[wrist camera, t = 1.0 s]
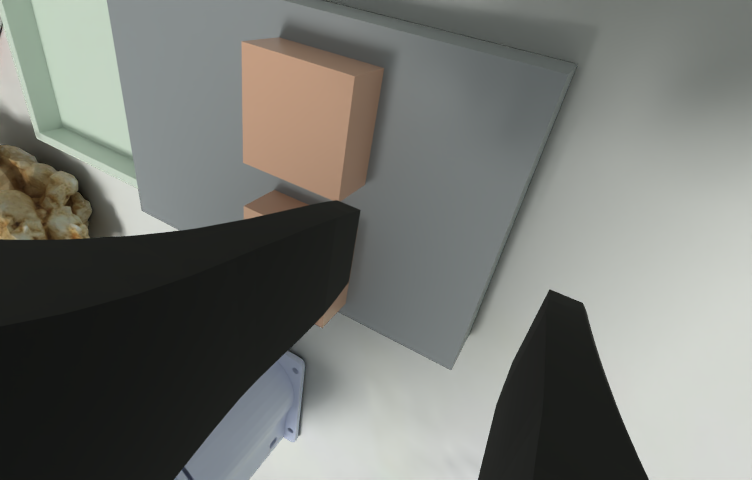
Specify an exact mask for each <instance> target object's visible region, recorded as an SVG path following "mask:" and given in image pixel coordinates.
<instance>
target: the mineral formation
mask: <svg viewBox="0 0 752 480" xmlns="http://www.w3.org/2000/svg"><path fill="white" fill-rule="evenodd" d="M77 191H78V181H77V179H76V178H75V177H74V176H73V175H71V174H69V173H66V172H63V171H56V170H55V169H54V168H53V167H51V166H49V165H47V164H42V163H38V162H37V160H36V158H35V156H33V155H31V154H29V153H27V152H26V151H24V150H22V149H20V148H18V147H15V146H9V145H0V239H9V240H59V239H83V238H90V237H89V235H88V225H89V222H88V221H87V220H88V218H89V217H90V215H91V213H92V209H91V205H90V202H89V201H86V200H85V199H84V198H83V197H82V196H81V194H80V193H78V192H77Z"/></svg>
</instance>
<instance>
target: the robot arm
mask: <svg viewBox="0 0 752 480" xmlns="http://www.w3.org/2000/svg"><path fill="white" fill-rule="evenodd" d="M360 211H361V210H359V209H357V208H355V207H352V206H350V205H347V204H345V203H343V202H340V201H338V200H335V201H327V202H322V203H317V204H312V205H307V206H303V207H298V208H294V209H289V210H285V211H281V212H276V213H272V214H267V215H263V216H258V217H254V218H249V219H244V220H238V221H233V222H228V223H222V224H217V225H211V226H206V227H201V228H194V229H188V230H181V231H173V232H165V233H155V234H146V235H136V236H123V237H103V238H83V239H59V240H9V239H0V480H249V479H250V478H251V477H252V475H253V474H254V473H255V472H256V470H257V469H258V468H259V467H260V465H261V464H262V463H263V462H264V460H265V459H266V458H267V457H268V456H269V454H270V453H271V452H272V451H273V449H274V448H275V447H276V446H277V444H278V443H279V442H280V441H281V439H282V438H283V437H284V438H286V439H287V440H289V441H291V442H295V441H296V439H297V438H298V429H299V420H300V410H301V401H302V391H303V382H304V372H305V363H304V361H303V360H302V359H301V358H300V357H298V356H296V355H294V354H293V353H291V352H289V351H288V350H289V349H290V348H291V347H292V346H293V345H294V344H295V343H296V342H297V341H298V340H299V339H300V338H301V337H302V336H303V335H304V334H305V333H306V332H307V331H308V330H309V329H310V328H311V327H312V326H313V325H314V324H315V323H316V322H317V321H318V320H319V319H320V318H321V317H322V316H323V315H324V314H325V313H326V311H327V310H328V309H329V308H330V306H331V305H332V304H333V303H334V301H335V300H336V299H337V297H338V296H339V295H340V293H341V292H342V291H343V289H344V288H345V287H346V285H347V284H348V283H349V278H350V272H351V266H352V260H353V254H354V248H355V241H356V235H357V229H358V223H359V217H360ZM478 480H649V479H648V477H647V475H646V473H645V470H644V468H643V466H642V464H641V462H640V460H639V458H638V455H637V453H636V451H635V448H634V446H633V444H632V441H631V439H630V437H629V435H628V432H627V430H626V428H625V425H624V423H623V420H622V418H621V415H620V413H619V410H618V408H617V405H616V403H615V400H614V397H613V394H612V392H611V389H610V386H609V383H608V381H607V378H606V375H605V372H604V369H603V366H602V364H601V361H600V357H599V354H598V351H597V348H596V345H595V341H594V338H593V334H592V331H591V327H590V324H589V320H588V316H587V312H586V309H585V307H584V305H583V303H581V302H579V301H576V300H574V299H571V298H569V297H567V296H564V295H562V294H560V293H557V292H555V291H552V290H549V292H548V294H547V296H546V297H545V299H544V301H543V303H542V305H541V307H540V309H539V311H538V313H537V315H536V317H535V319H534V321H533V323H532V325H531V327H530V329H529V331H528V333H527V335H526V337H525V339H524V341H523V343H522V345H521V346H520V348H519V350H518V352H517V354H516V356H515V358H514V360H513V362H512V365H511V368H510V370H509V373H508V375H507V378H506V381H505V383H504V386H503V389H502V391H501V394H500V397H499V399H498V402H497V405H496V409H495V413H494V417H493V421H492V425H491V429H490V433H489V437H488V441H487V445H486V449H485V453H484V457H483V461H482V465H481V469H480V474H479V478H478Z"/></svg>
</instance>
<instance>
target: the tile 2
mask: <svg viewBox="0 0 752 480" xmlns="http://www.w3.org/2000/svg"><path fill="white" fill-rule="evenodd" d="M241 46H242V123H243V163H245V164H247V165H250V166H252V167H254V168H257V169H259V170H261V171H264V172H266V173H269V174H271V175H273V176H276V177H278V178H280V179H283V180H285V181H288V182H290V183H292V184H295V185H297V186H299V187H302V188H304V189H306V190H309V191H311V192H314V193H316V194H318V195H321V196H323V197H325V198H328V199H330V200H333V201H335V200H338V201H340V202H341V201H342V200H343V199H345V198H346V197H348V196H349V195H351V194H352V193H354V192H355V191H357V190H358V189H359V188H361V187H362V186H364V185H365V182H366V176H367V170H368V164H369V158H370V152H371V146H372V139H373V133H374V127H375V121H376V115H377V109H378V103H379V97H380V91H381V85H382V78H383V72H384V68H382V67H379V66H375V65H372V64H369V63H365V62H362V61H358V60H355V59H352V58H348V57H345V56H341V55H338V54H335V53H331V52H328V51H324V50H321V49H318V48H314V47H311V46H307V45H304V44H301V43H297V42H294V41H290V40H287V39H284V38H280V37H276V38H267V39H258V40H249V41H241Z"/></svg>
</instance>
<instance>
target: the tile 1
mask: <svg viewBox="0 0 752 480" xmlns="http://www.w3.org/2000/svg"><path fill="white" fill-rule="evenodd" d="M307 205H308V204H306V203H303V202H301V201H299V200H297V199H294V198H292V197H290V196H287V195H285V194H283V193H280V192H278V191H276V190H273V191H271V192H269V193H267V194H265V195H263V196H262V197H260V198H258V199H256V200H254V201H252V202H250V203H248V204H246V205H245V206H244V219H249V218H254V217H258V216H263V215H267V214H272V213H276V212H281V211H285V210H289V209H294V208H298V207H303V206H307ZM357 231H358V229H357ZM356 237H357V235H356ZM355 243H356V241H355ZM354 249H355V248H354ZM353 255H354V254H353ZM352 261H353V260H352ZM351 267H352V266H351ZM350 273H351V272H350ZM349 280H350V278H349ZM348 286H349V283H348V284H347V285H346V287H345V288H344V289H343V291H342V292H341V293H340V295H339V296H338V297H337V299H336V300H335V301H334V303H333V304H332V305H331V306H330V308H329V309H328V310H327V311H326V313H325V314H324V315H323V316H322V317H321V318H320V319H319V320H318V321H317V322H316V323H315V324H316V325H317V326H319V327H321V328H323V327H324V326H325V325H326V324H327V323H328V322H329V321H330V320H331V318H332V317H333V316H334V315H335V314H336V313H337V312H338V311H339V310H340V309H341V308H342V307H343V306H344V305H345V304H346V298H347V292H348Z"/></svg>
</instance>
